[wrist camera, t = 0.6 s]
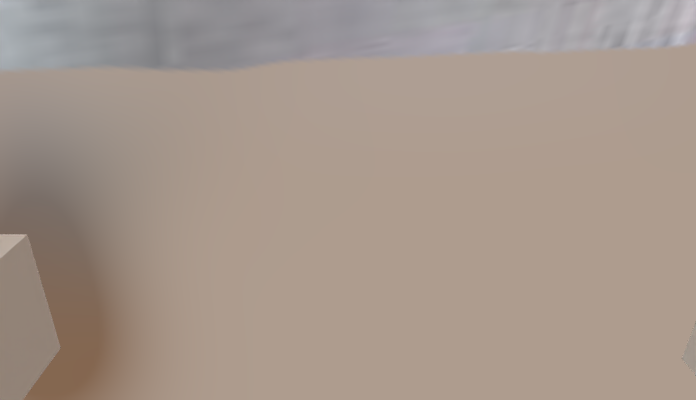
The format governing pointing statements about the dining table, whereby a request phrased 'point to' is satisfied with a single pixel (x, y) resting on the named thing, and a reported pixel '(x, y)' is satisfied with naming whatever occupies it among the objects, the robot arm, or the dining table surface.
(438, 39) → the dining table surface
